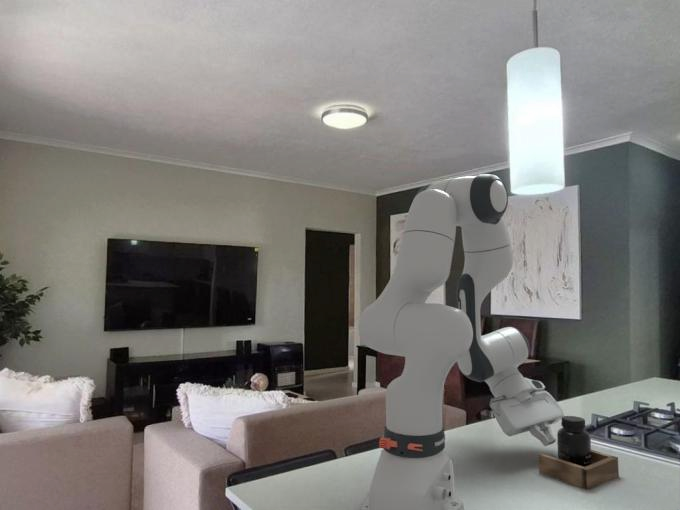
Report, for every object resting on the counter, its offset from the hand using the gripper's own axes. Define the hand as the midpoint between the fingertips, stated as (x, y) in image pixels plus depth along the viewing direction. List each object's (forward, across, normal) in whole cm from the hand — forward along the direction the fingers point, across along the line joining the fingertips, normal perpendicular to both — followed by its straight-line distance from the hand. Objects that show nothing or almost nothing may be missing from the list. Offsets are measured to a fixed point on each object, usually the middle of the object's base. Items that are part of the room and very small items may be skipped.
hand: (550, 443), depth 114 cm
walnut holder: (+8, 0, -1) cm, 9 cm away
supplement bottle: (+8, 0, 0) cm, 8 cm away
